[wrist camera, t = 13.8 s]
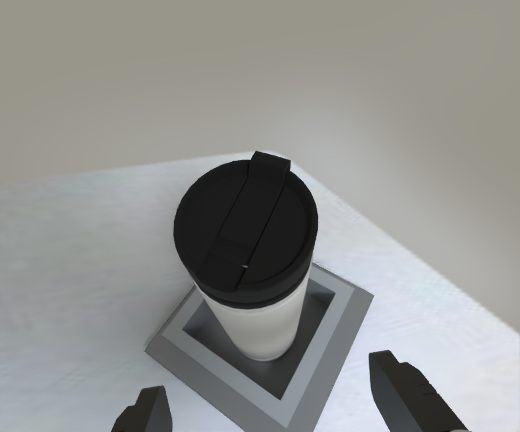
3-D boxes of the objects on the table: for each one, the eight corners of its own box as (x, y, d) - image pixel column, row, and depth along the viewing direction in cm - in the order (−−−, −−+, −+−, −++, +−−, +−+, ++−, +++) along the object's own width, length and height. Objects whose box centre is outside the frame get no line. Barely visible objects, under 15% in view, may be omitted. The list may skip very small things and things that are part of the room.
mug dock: (147, 352, 29) (126, 343, 25) (241, 228, 36) (236, 204, 32) (294, 469, 24) (298, 481, 20) (371, 298, 31) (386, 280, 27)
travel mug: (306, 305, 30) (341, 169, 13) (282, 374, 27) (289, 312, 10) (248, 282, 32) (214, 135, 15) (219, 345, 29) (134, 249, 12)
